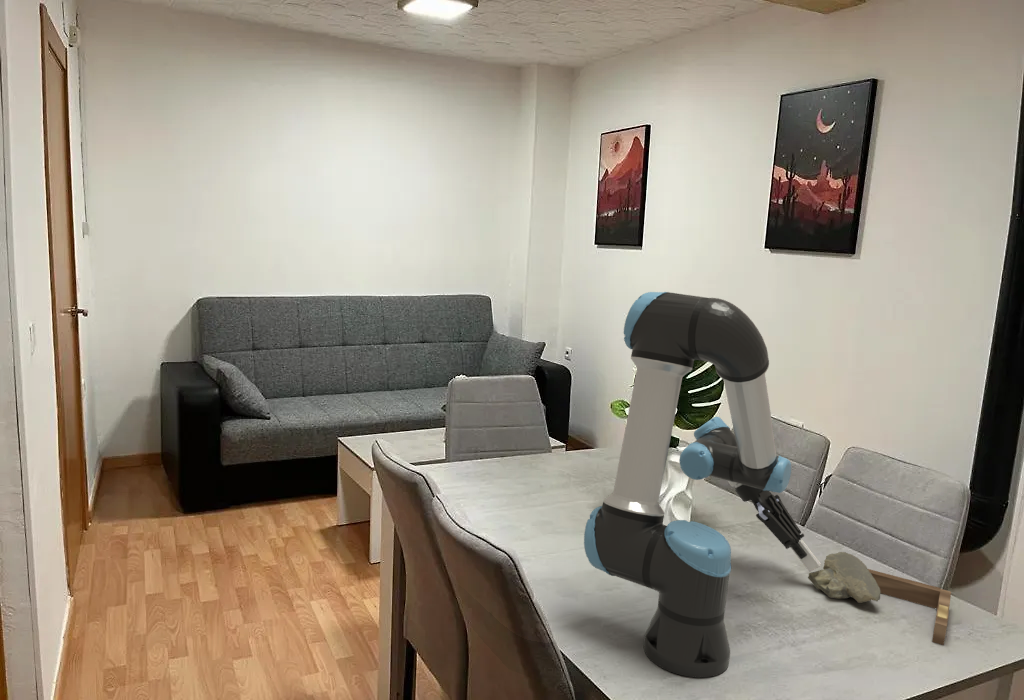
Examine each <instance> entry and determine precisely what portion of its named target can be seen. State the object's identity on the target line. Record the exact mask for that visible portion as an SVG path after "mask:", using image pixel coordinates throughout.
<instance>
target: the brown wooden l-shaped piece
mask: <svg viewBox="0 0 1024 700" xmlns="http://www.w3.org/2000/svg"><path fill="white" fill-rule="evenodd" d="M867 569H868V570H869V572H870V573H871V574H872V576H873V577H874V579H875V580H876V583H877V584H878V586H879V588H880V591H881V592H880V595H885V596H889V597H892V598H897V599H900V600H902V601H907V602H911V603H915V604H918V605H921V606H925V607H929V608H932V609H935V608H936V609H935V610H936V614H935V621H934V627H933V634H932V640H931V642H932V643H935V644H937V645H941V646H945V641H946V634H947V628H948V621H949V611H950V605H951V597H952V591H950V590H945V589H942V588H941V587H939V586H938V587H937V586H934V585H930V584H926V583H923V582H920V581H915V580H911V579H907V578H904V577H901V576H897V575H893V574H889V573H885V572H882V571H877V570H874V569H870V568H867Z"/></svg>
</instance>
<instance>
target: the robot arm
mask: <svg viewBox="0 0 1024 700" xmlns="http://www.w3.org/2000/svg"><path fill="white" fill-rule="evenodd" d="M623 325H624V327H623V336H624V337H623V340H624V344H625V346H626V347H627V348H628V349H630V350H631V355H630V359H631V361H632V363H633V364H634V365H635V368H636V371H635V372H636V373H635V377H634V382H633V387H632V393H631V398H630V403H629V406H628V407H629V409H628V414H627V418H626V419H627V420H626V424H625V427H624V435H623V439H622V445H621V450H620V455H619V459H618V460H619V461H618V466H617V470H616V475H615V476H616V477H615V480H614V481H615V482H614V486H613V491H612V493H610V494H609V495H608V496H606V497H605V498H603V500H602V505H601V506H596V507H595V508H594V509H593V510H592V511H591V512H590V514H589V518H588V519H587V522H586V523H585V524H586V525H585V528H584V533H583V534H584V536H583V546H584V552H585V555H586V557H587V559H588V562H589V564H590V565H591V566H593V567H594V568H595V569H598V570H599V571H601V572H604V573H606V574H607V575H609V576H612V577H617V578H620V579H623V580H625V581H628V582H631V583H634V584H638V585H640V586H643V587H646V588H648V589H652V590H655V591H657V592H658V603H657V608H656V611H655V612H654V615H653V617H652V618H651V621H650V622H649V625H648V627H647V629H646V631H645V633H644V641H643V642H644V643H643V650H644V653H645V655H646V656H647V658H648V659H649V660H650V661H651V662H653V663H654V664H655V665H656V666H658V667H659V668H661V669H663V670H665V671H668V672H670V673H673V674H676V675H679V676H683V677H688V678H689V677H690V678H710V677H714V676H717V675H720V674H723V672H725V671H726V670H727V669H728V667H729V664H730V657H731V648H730V643H729V639H728V634H727V630H726V624H725V612H726V605H727V604H726V603H727V598H728V597H727V595H728V587H729V582H730V581H729V580H730V574H731V572H732V571H731V570H732V564H731V557H732V548H731V545H730V544H731V543H729V541H728V540H727V539H726V536H724V535H723V534H722V533H720V532H719V531H718V530H716V529H714V528H713V527H710V526H708V525H706V524H704V523H700V522H697V521H694V520H691V521H689V520H685V519H678V520H672V521H670V522H669V523H668V524H667V525H666V524H664V519H665V515H666V513H665V511H664V509H663V508H662V507H661V505H660V503H659V501H660V500H659V499H660V496H661V489H662V485H663V480H664V474H665V469H666V464H667V458H668V454H669V448H670V443H671V437H672V433H673V427H674V423H675V418H676V413H677V407H678V402H679V397H680V396H679V395H680V391H681V387H682V386H681V385H682V383H683V382H682V381H683V377H684V376H686V375H687V374H688V373H690V372H691V371H693V367H694V361H701V362H704V361H705V362H707V363H711V364H712V365H714V368H715V372H716V374H717V375H718V376H719V377H720V378H721V379H722V380H723V384H724V389H725V393H726V397H727V403H728V407H729V408H728V409H729V413H730V418H731V422H732V423H731V424H732V429H731V428H730V426H729V425H727V423H725V421H724V420H723V419H722V418H721V417H719V416H714V417H712V418H711V419H709V420H707V421H706V422H705V423H704V424H702V425H701V426H699V427H698V428H697V429H696V430H694V432H693V436H694V439H695V441H693V442H691V443H689V444H688V445H687V446H686V447H685V448H684V449H683V450H682V451H681V453H680V456H679V465H680V466H679V467H680V469H681V470H682V472H683V473H684V474H685V476H687V477H688V478H689V479H692V480H695V481H699V480H703V479H707V478H708V477H712V478H715V479H720V480H724V481H727V482H728V484H729V485H730V486H731V487H733V488H734V487H735V488H734V491H735V493H736V494H737V495H738V497H739V498H740V499H741V500H742V501H743V502H744V503H746V502H749V501H751V502H752V504H753V506H754V508H755V510H756V511H757V512H758V513H757V514H756V515H755V516H756V518H757V519H758V520H759V521H760V522H762V524H764V525H765V527H766V528H767V529H768V530H769V531H770V532H771V533H772V534H773V535H774V537H775V538H776V539H777V540H778V541H779V542H780V543H781V544H782V546H783V547H785V549H786V550H788V549H789V548H790V549H791V550H792V551H793V553H794V554H795V555H796V556H797V558H798V559H799V561H800V562H801V564H802V565H804V567H805V568H806V570H807V571H808V572H809V573H811V572H812V571H813V572H814V571H815V570H816V569H817V568H820V567H821V565H822V563H821V562H820V560H819V559H818V558H817V557H816V556H815V554H814V553H813V552H812V551H811V549H810V548H809V546H808V545H807V544H806V543H805V541H804V540H803V538H804V537H805V534H804V533H802V531H801V529H800V527H798V525H797V523H796V522H795V521H794V519H793V517H792V516H791V514H790V512H788V510H787V508H786V506H785V505H784V503H783V501H782V499H781V497H780V496H779V495H778V494H779V493H784V492H785V491H786V489H787V487H788V486H789V483H790V479H791V474H792V463H791V461H790V460H789V459H788V458H786V457H783V456H782V455H777V448H776V442H775V433H774V427H773V421H772V412H771V407H770V400H769V393H768V385H767V379H766V378H767V377H766V373H767V371H768V369H769V365H770V360H769V352H768V348H767V346H766V343H765V339H764V337H763V336H762V334H761V332H760V330H759V329H758V327H757V326H756V325H755V323H754V322H753V321H752V319H751V318H750V317H749V316H748V315H747V314H746V313H745V312H744V311H743V310H742V309H741V308H739V307H738V306H736V305H735V304H733V303H732V302H730V301H728V300H725V299H721V298H719V297H704V296H699V295H691V294H682V293H677V292H676V293H675V292H669V291H664V292H663V291H648V292H645V293H643V294H641V295H640V296H639V297H638V298H636V300H635V301H634V302H633V303H632V305H631V307H630V308H629V310H628V312H627V316H626V318H625V321H624V324H623ZM732 430H733V432H732ZM771 492H772V493H771ZM773 493H778V494H775V495H774V494H773Z"/></svg>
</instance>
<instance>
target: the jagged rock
mask: <svg viewBox="0 0 1024 700" xmlns="http://www.w3.org/2000/svg"><path fill="white" fill-rule="evenodd" d="M823 561H824V563H823V564H824V565H823V569H818V570H815V571H813V572H812V571H811V572H809V573H808V577H807V579H808V580H809V581H810V582H811V583H812V584H813V586H814V588H816V589H817V590H819V591H822V592H824V594H825V595H827V597H829V598H831V599H839V600H841V599H848V598H852V599H854V600H855V601H856V602H857V603H858V604H863V603H866V602H871V601H874V602H879V601H880V599H881V593H880V592H881V591H880V588H879V586H878V584H877V583H876V580H875V579H874V577H873V576H872V574H871V573H870V572H869V570H868V569H869V568H868V567H867V565H866V564H865V563H864V562H863V561H862V560H861V559H859V557H858V556H855V555H853V554H851V553H848V552H846V551H839V552H836V553H830V554H828V555H826V557H825V559H824V560H823Z"/></svg>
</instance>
